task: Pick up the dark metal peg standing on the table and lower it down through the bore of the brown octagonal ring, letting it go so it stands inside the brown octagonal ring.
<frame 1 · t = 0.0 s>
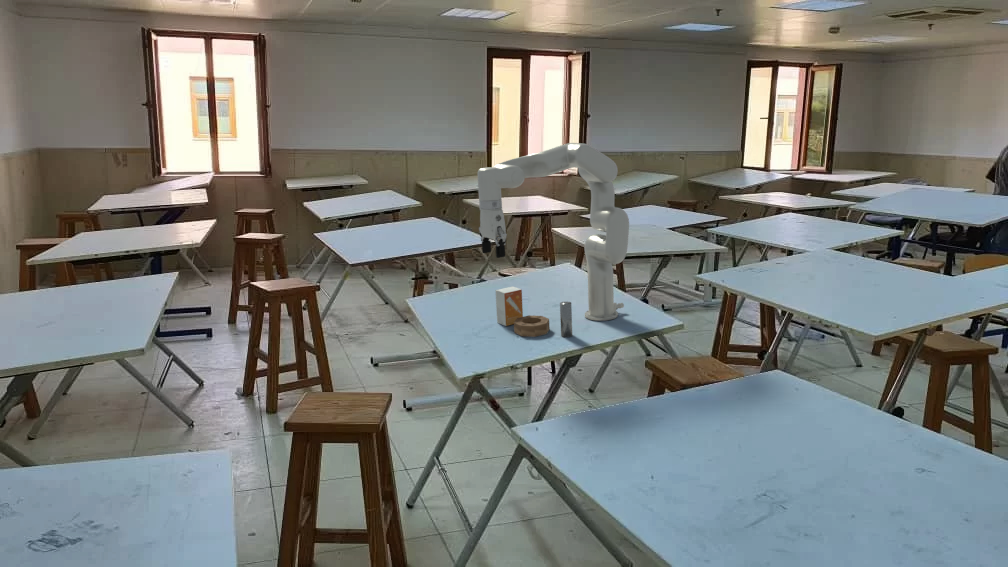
hand: (493, 254, 240), 31 cm above the table, fingers open, 9 cm apart
small box: (510, 322, 268), on the table
brown octagonal ring: (532, 331, 257), on the table
peg: (566, 335, 250), on the table
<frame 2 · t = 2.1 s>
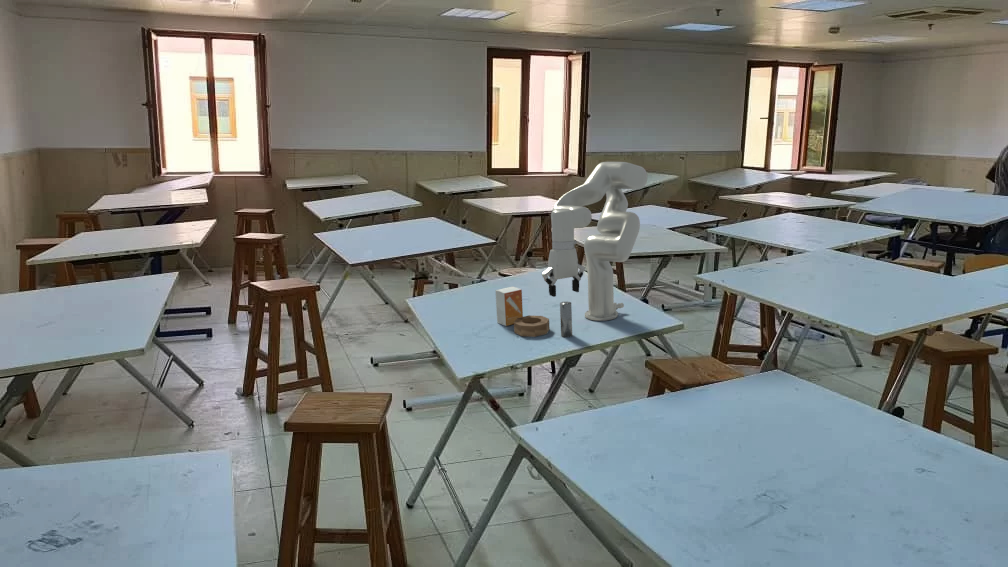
hand: (564, 293, 246), 16 cm above the table, fingers open, 9 cm apart
nothing on the table moved.
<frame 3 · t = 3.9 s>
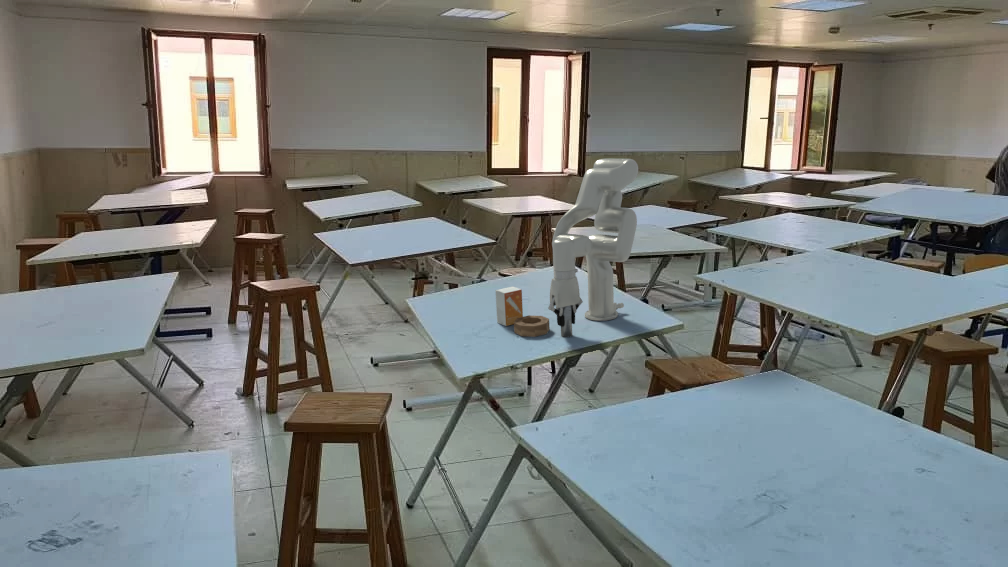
hand: (566, 323, 249), 4 cm above the table, fingers closed on peg, 4 cm apart
peg: (566, 335, 250), on the table, touching gripper
everything else where it was.
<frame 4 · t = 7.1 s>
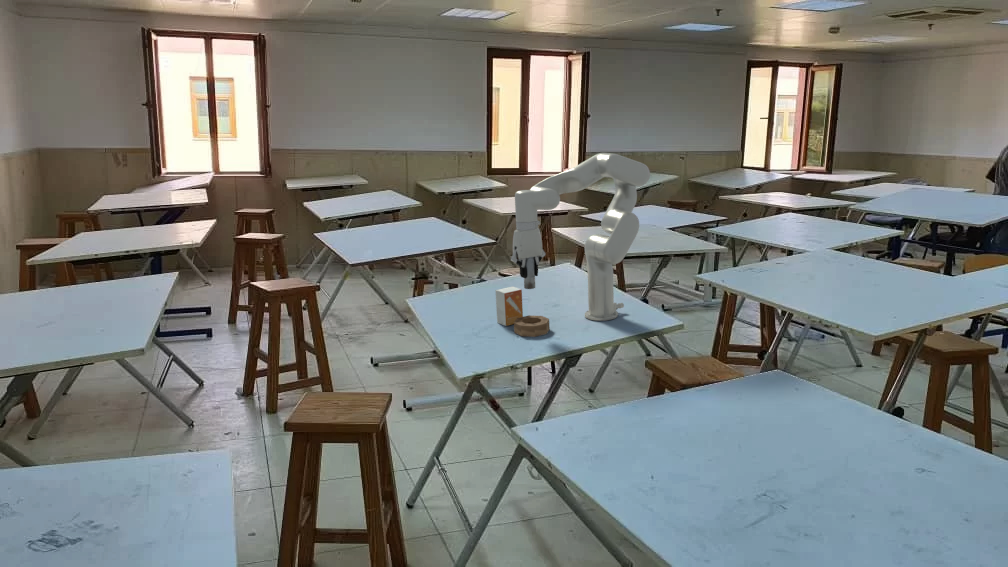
hand: (529, 275, 251), 21 cm above the table, fingers closed on peg, 4 cm apart
peg: (529, 287, 253), point 16 cm above the table, touching gripper
everything else where it was.
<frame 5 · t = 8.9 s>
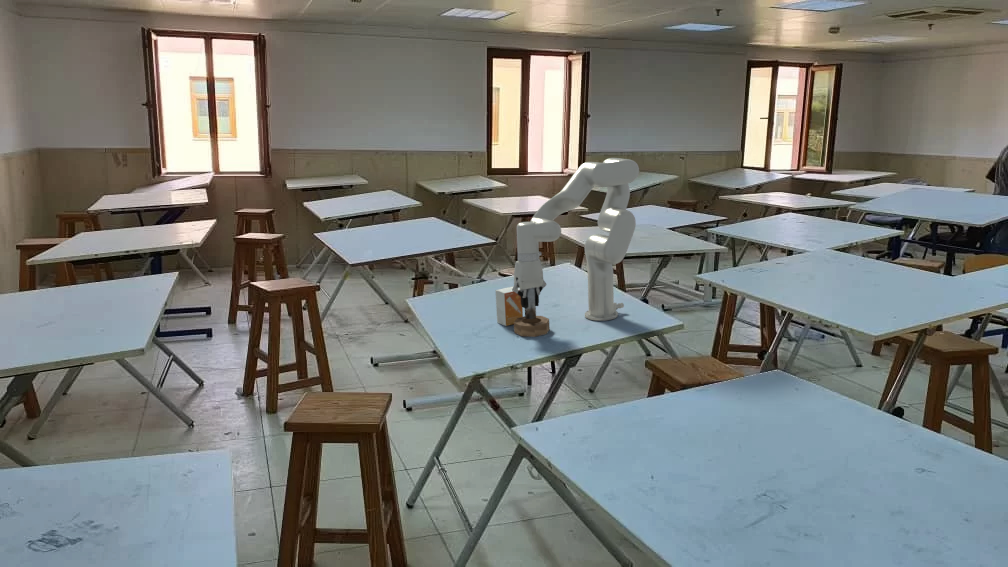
hand: (530, 306, 254), 10 cm above the table, fingers closed on peg, 4 cm apart
peg: (530, 317, 255), point 5 cm above the table, touching gripper
everything else where it was.
when the fingers open (6 cm above the table, at t = 10.5 s): peg drops 1 cm, resting in brown octagonal ring.
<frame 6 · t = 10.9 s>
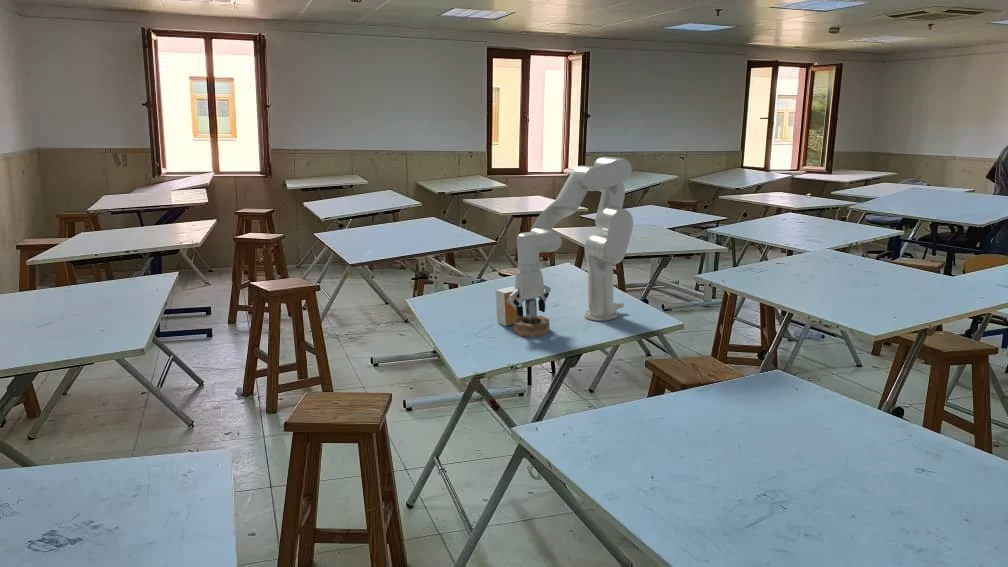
hand: (531, 313, 255), 7 cm above the table, fingers open, 8 cm apart
peg: (532, 331, 257), resting in brown octagonal ring
everything else where it was.
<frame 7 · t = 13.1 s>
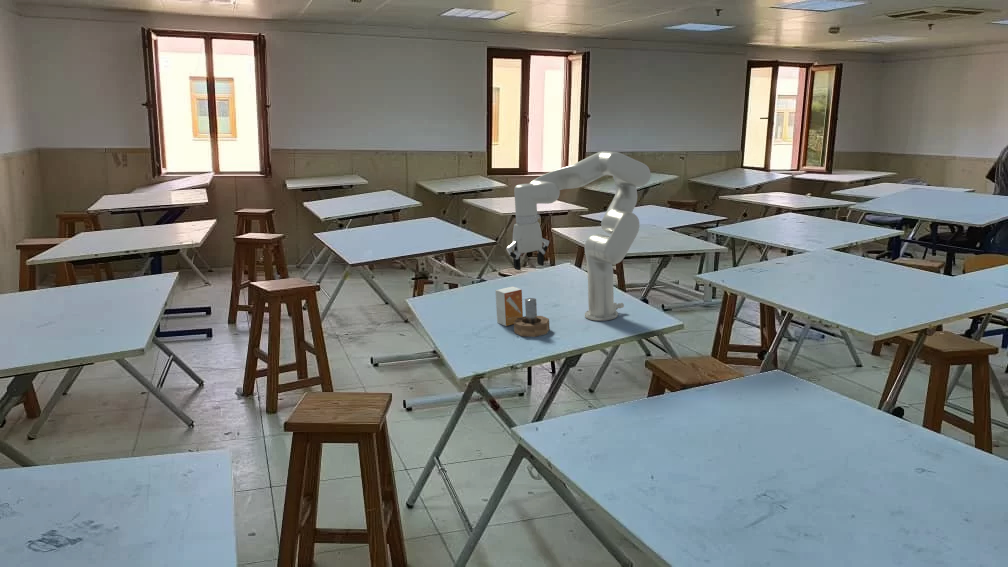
hand: (529, 267, 251), 24 cm above the table, fingers open, 9 cm apart
nothing on the table moved.
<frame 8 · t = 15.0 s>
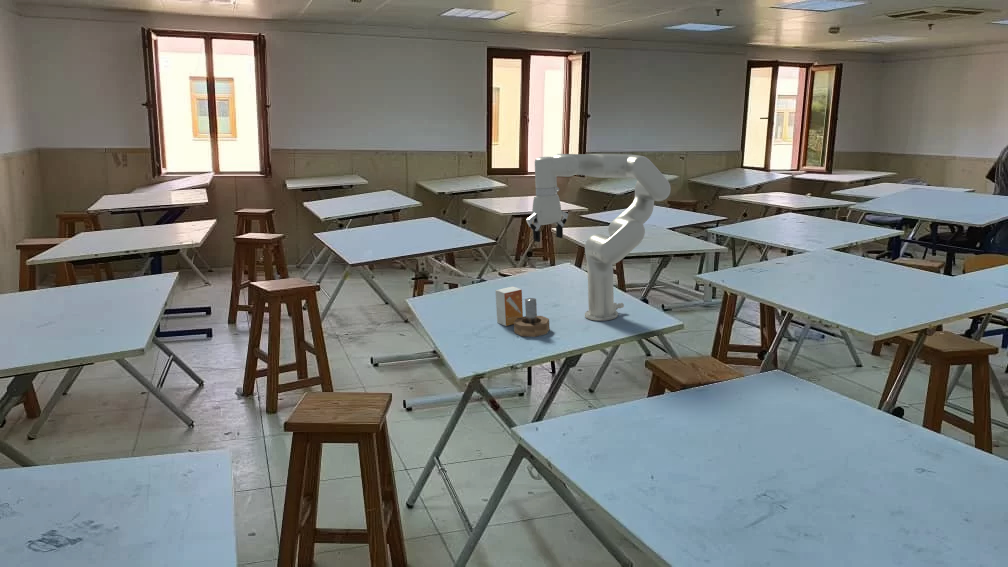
hand: (548, 239, 255), 32 cm above the table, fingers open, 9 cm apart
nothing on the table moved.
at the end: peg 0.1 cm from the brown octagonal ring (horizontally); peg resting in brown octagonal ring; the gripper is holding nothing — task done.
